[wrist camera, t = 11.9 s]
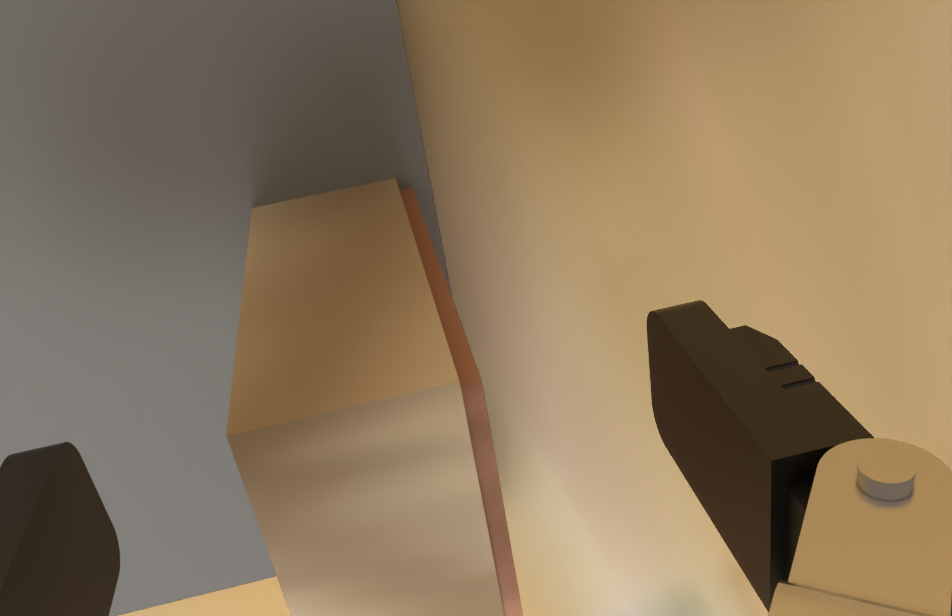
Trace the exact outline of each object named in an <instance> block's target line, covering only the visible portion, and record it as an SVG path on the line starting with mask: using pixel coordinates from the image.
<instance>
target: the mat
mask: <svg viewBox="0 0 952 616" xmlns="http://www.w3.org/2000/svg"><path fill="white" fill-rule="evenodd" d="M394 178H396V181H397V184H398V188H399V190H402V189H407V188H412V187H413V190H414V193H415V196H416V198H417V201H418V204H419V207H420V210H421V212H422V215H423V218H424V221H425V224H426V226H427V229H428V232H429V235H430V238H431V240H432V243H433V246H434V249H435V252H436V254H437V257H438V260H439V263H440V266H441V268H442V271H443V274H444V277H445V280H446V282H447V285H448V288H449V291H450V294H451V290H450V285H449V279H448V274H447V269H446V263H445V258H444V253H443V247H442V242H441V237H440V231H439V226H438V221H437V215H436V210H435V205H434V199H433V194H432V189H431V183H430V178H429V173H428V167H427V162H426V157H425V151H424V146H423V141H422V135H421V130H420V125H419V119H418V114H417V109H416V103H415V98H414V93H413V88H412V82H411V77H410V72H409V66H408V61H407V56H406V50H405V45H404V40H403V34H402V29H401V24H400V18H399V13H398V8H397V2H396V0H0V467H1V465H2V463H3V461H4V460H5V458H6V457H7V456H8V455H10V454H14V453H19V452H23V451H28V450H32V449H37V448H41V447H45V446H50V445H54V444H59V443H63V442H69V443H71V444H73V445H74V446H75V447H76V448H77V450H78V451H79V453H80V455H81V457H82V459H83V461H84V463H85V466H86V468H87V470H88V472H89V474H90V476H91V479H92V481H93V483H94V485H95V487H96V489H97V491H98V494H99V496H100V498H101V500H102V502H103V504H104V507H105V509H106V511H107V513H108V515H109V517H110V519H111V522H112V524H113V526H114V529H115V531H116V535H117V538H118V543H119V549H120V572H119V577H118V581H117V585H116V589H115V593H114V597H113V601H112V605H111V609H110V613H109V616H118V615H122V614H126V613H130V612H134V611H138V610H142V609H146V608H150V607H154V606H158V605H162V604H166V603H170V602H174V601H178V600H182V599H186V598H190V597H194V596H198V595H202V594H206V593H210V592H214V591H219V590H223V589H227V588H231V587H235V586H239V585H243V584H247V583H251V582H255V581H259V580H263V579H267V578H271V577H275V576H277V575H276V572H275V570H274V567H273V564H272V561H271V559H270V556H269V553H268V550H267V547H266V545H265V542H264V539H263V536H262V534H261V531H260V528H259V525H258V522H257V520H256V517H255V514H254V511H253V509H252V506H251V503H250V500H249V497H248V495H247V492H246V489H245V486H244V484H243V481H242V478H241V475H240V472H239V470H238V467H237V464H236V461H235V459H234V456H233V453H232V450H231V447H230V445H229V442H228V439H227V436H226V432H227V423H228V415H229V406H230V397H231V388H232V379H233V370H234V361H235V353H236V344H237V335H238V326H239V317H240V308H241V299H242V290H243V282H244V273H245V264H246V255H247V246H248V237H249V228H250V220H251V211H252V208H254V207H259V206H264V205H269V204H274V203H278V202H283V201H288V200H293V199H298V198H302V197H307V196H312V195H317V194H322V193H326V192H331V191H336V190H341V189H346V188H350V187H355V186H360V185H365V184H370V183H374V182H379V181H384V180H389V179H394ZM451 296H452V295H451Z"/></svg>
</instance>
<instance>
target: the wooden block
mask: <svg viewBox="0 0 952 616" xmlns="http://www.w3.org/2000/svg"><path fill="white" fill-rule="evenodd" d="M226 436H227V439H228V442H229V445H230V447H231V450H232V453H233V456H234V459H235V461H236V464H237V467H238V470H239V472H240V475H241V478H242V481H243V484H244V486H245V489H246V492H247V495H248V497H249V500H250V503H251V506H252V509H253V511H254V514H255V517H256V520H257V522H258V525H259V528H260V531H261V534H262V536H263V539H264V542H265V545H266V547H267V550H268V553H269V556H270V559H271V561H272V564H273V567H274V570H275V572H276V575H277V578H278V581H279V584H280V586H281V589H282V592H283V595H284V597H285V600H286V603H287V606H288V609H289V611H290V614H291V616H523V612H522V607H521V601H520V595H519V590H518V584H517V578H516V573H515V567H514V561H513V556H512V550H511V544H510V539H509V533H508V527H507V522H506V516H505V510H504V505H503V499H502V494H501V488H500V482H499V477H498V471H497V465H496V460H495V454H494V448H493V443H492V437H491V431H490V426H489V420H488V414H487V409H486V403H485V397H484V392H483V386H482V381H481V378H480V375H479V372H478V369H477V367H476V364H475V361H474V358H473V355H472V353H471V350H470V347H469V344H468V341H467V339H466V336H465V333H464V330H463V327H462V325H461V322H460V319H459V316H458V313H457V311H456V308H455V305H454V302H453V299H452V296H451V294H450V291H449V288H448V285H447V282H446V280H445V277H444V274H443V271H442V268H441V266H440V263H439V260H438V257H437V254H436V252H435V249H434V246H433V243H432V240H431V238H430V235H429V232H428V229H427V226H426V224H425V221H424V218H423V215H422V212H421V210H420V207H419V204H418V201H417V198H416V196H415V193H414V190H413V187H412V188H407V189H402V190H399V188H398V184H397V181H396V178H394V179H389V180H384V181H379V182H374V183H370V184H365V185H360V186H355V187H350V188H346V189H341V190H336V191H331V192H326V193H322V194H317V195H312V196H307V197H302V198H298V199H293V200H288V201H283V202H278V203H274V204H269V205H264V206H259V207H254V208H252V211H251V220H250V228H249V237H248V246H247V255H246V264H245V273H244V282H243V290H242V299H241V308H240V317H239V326H238V335H237V344H236V353H235V361H234V370H233V379H232V388H231V397H230V406H229V415H228V423H227V432H226Z"/></svg>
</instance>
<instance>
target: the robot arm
mask: <svg viewBox="0 0 952 616" xmlns="http://www.w3.org/2000/svg"><path fill="white" fill-rule="evenodd" d="M647 337H648V352H649V367H650V381H651V396H652V406H653V412H654V417H655V421H656V424H657V428H658V431H659V433H660V436H661V438H662V440H663V443H664V444H665V446H666V448H667V449H668V451H669V453H670V454H671V456H672V458H673V459H674V461H675V462H676V464H677V466H678V467H679V469H680V470H681V472H682V474H683V475H684V477H685V478H686V480H687V482H688V483H689V485H690V487H691V488H692V490H693V491H694V493H695V495H696V496H697V498H698V499H699V501H700V503H701V504H702V506H703V507H704V509H705V511H706V512H707V514H708V516H709V517H710V519H711V520H712V522H713V524H714V525H715V527H716V528H717V530H718V532H719V533H720V535H721V536H722V538H723V540H724V541H725V543H726V545H727V546H728V548H729V549H730V551H731V553H732V554H733V556H734V557H735V559H736V561H737V562H738V564H739V566H740V567H741V569H742V570H743V572H744V574H745V575H746V577H747V578H748V580H749V582H750V583H751V585H752V586H753V588H754V590H755V591H756V593H757V595H758V596H759V598H760V599H761V601H762V603H763V604H764V606H765V607H766V609H767V611H768V612H769V614H768V616H952V472H951V470H950V469H949V468H948V466H947V465H946V464H945V463H944V462H943V461H941V460H940V459H939V458H937V457H936V456H935V455H933V454H931V453H929V452H927V451H926V450H924V449H921V448H919V447H917V446H914V445H911V444H908V443H905V442H900V441H896V440H890V439H881V438H874V437H873V436H872V435H871V434H870V433H869V432H868V431H867V430H866V429H865V428H864V427H863V426H862V425H861V424H860V423H859V422H858V421H857V420H856V419H855V418H854V417H853V416H852V415H851V414H850V413H849V412H848V411H847V410H846V409H845V408H844V407H843V406H842V405H841V404H840V403H839V402H838V401H837V400H836V399H835V398H834V397H833V396H832V395H831V394H830V393H829V392H828V391H827V390H826V389H825V388H824V387H823V386H822V385H821V384H820V383H819V382H815V378H814V376H813V375H812V374H811V373H810V372H809V371H808V370H807V369H806V368H805V367H804V366H803V365H799V364H798V360H797V359H796V358H795V357H794V356H793V355H792V354H791V353H790V352H789V351H788V350H787V349H786V348H785V347H784V346H783V345H782V344H781V343H780V342H779V341H778V340H776V339H774V338H772V337H770V336H768V335H766V334H763V333H761V332H759V331H757V330H755V329H753V328H750V327H748V326H746V325H745V326H741V327H736V328H732V329H729V328H728V327H727V326H726V325H725V324H724V323H723V322H722V321H721V319H720V318H719V317H718V316H717V315H716V314H715V313H714V312H713V311H712V310H711V308H710V307H709V306H708V305H707V304H706V303H705V302H703V301H701V300H698V301H694V302H690V303H685V304H681V305H676V306H672V307H667V308H663V309H659V310H654V311H651V312H649V314H648V317H647ZM119 572H120V549H119V543H118V538H117V535H116V531H115V529H114V526H113V524H112V522H111V519H110V517H109V515H108V513H107V511H106V509H105V507H104V504H103V502H102V500H101V498H100V496H99V494H98V491H97V489H96V487H95V485H94V483H93V481H92V479H91V476H90V474H89V472H88V470H87V468H86V466H85V463H84V461H83V459H82V457H81V455H80V453H79V451H78V450H77V448H76V447H75V446H74V445H73V444H71V443H69V442H63V443H59V444H54V445H50V446H45V447H41V448H37V449H32V450H28V451H23V452H19V453H14V454H10V455H8V456H7V457H6V458H5V460H4V461H3V463H2V465H1V467H0V616H109V613H110V609H111V605H112V601H113V597H114V593H115V589H116V585H117V581H118V577H119Z"/></svg>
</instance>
